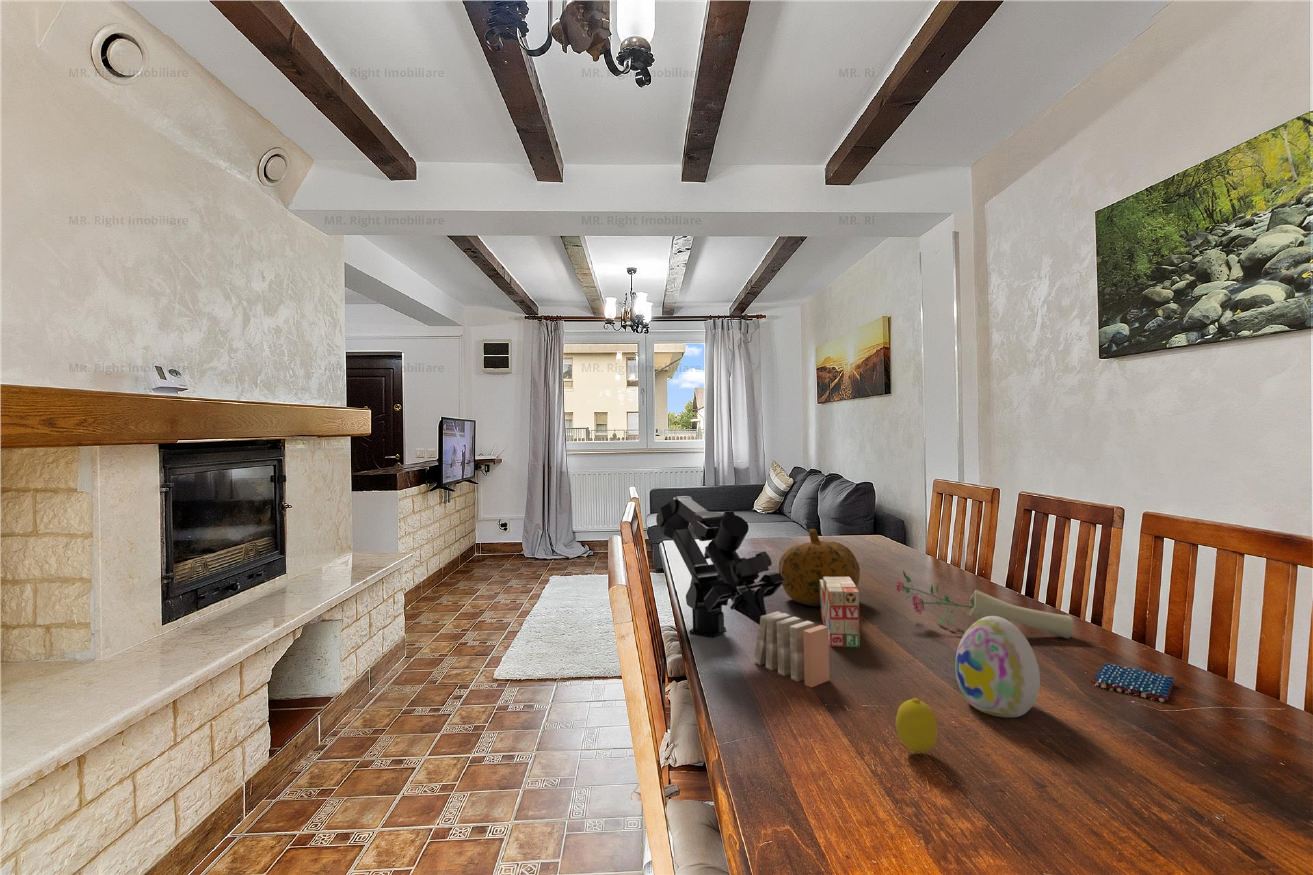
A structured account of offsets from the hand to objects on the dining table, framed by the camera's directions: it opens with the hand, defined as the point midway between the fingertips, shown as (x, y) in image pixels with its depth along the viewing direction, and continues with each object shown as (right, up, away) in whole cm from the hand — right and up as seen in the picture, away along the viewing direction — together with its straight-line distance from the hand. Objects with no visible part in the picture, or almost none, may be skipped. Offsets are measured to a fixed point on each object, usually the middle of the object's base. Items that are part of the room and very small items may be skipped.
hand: (766, 626), depth 122 cm
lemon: (+15, -8, -35) cm, 39 cm away
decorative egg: (+34, -7, -21) cm, 41 cm away
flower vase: (+51, -6, +14) cm, 53 cm away
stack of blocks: (+20, -7, +18) cm, 27 cm away
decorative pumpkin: (+22, -6, +41) cm, 47 cm away
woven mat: (+62, -6, -15) cm, 64 cm away
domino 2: (+2, -7, -2) cm, 8 cm away
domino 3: (+4, -7, -5) cm, 9 cm away
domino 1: (0, -7, +1) cm, 7 cm away
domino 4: (+6, -7, -7) cm, 12 cm away
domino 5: (+8, -7, -10) cm, 15 cm away
